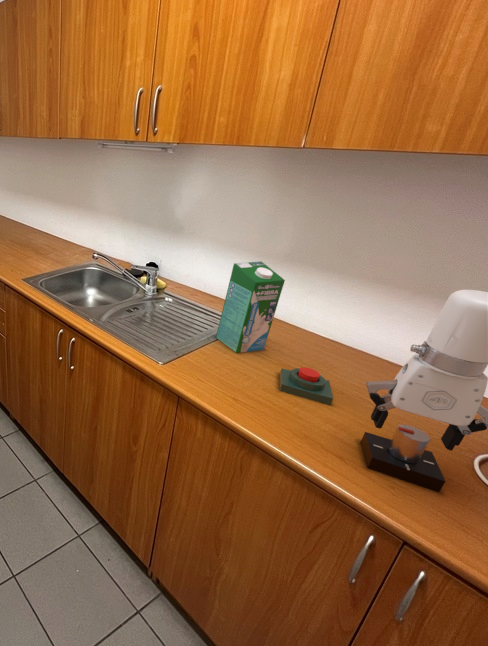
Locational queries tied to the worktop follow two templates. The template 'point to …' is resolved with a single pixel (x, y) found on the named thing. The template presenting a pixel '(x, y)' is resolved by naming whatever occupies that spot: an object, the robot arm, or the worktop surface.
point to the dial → (408, 444)
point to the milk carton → (249, 306)
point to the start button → (308, 374)
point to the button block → (305, 386)
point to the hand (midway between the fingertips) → (410, 434)
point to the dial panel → (401, 464)
